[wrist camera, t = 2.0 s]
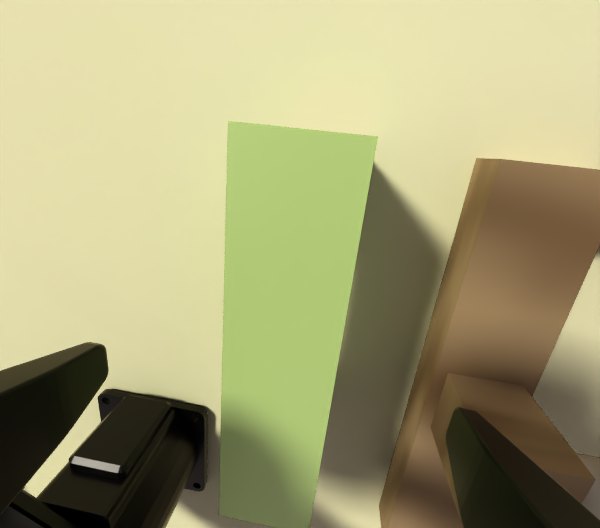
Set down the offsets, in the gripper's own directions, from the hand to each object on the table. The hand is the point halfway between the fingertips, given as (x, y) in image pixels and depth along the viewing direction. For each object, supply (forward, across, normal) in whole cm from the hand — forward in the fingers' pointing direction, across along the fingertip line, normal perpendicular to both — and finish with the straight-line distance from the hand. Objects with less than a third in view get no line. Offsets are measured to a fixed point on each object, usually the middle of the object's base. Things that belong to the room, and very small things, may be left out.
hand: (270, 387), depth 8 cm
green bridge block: (+7, 0, 0) cm, 7 cm away
